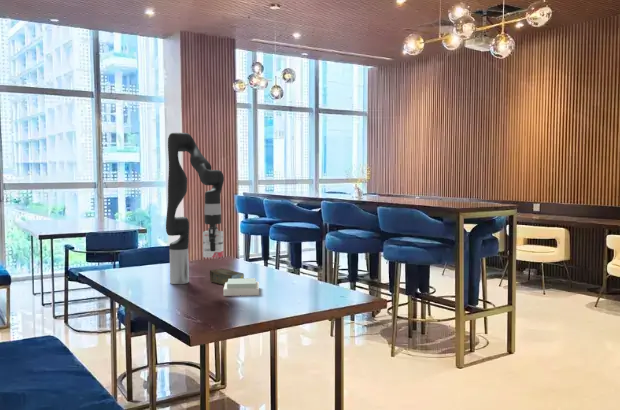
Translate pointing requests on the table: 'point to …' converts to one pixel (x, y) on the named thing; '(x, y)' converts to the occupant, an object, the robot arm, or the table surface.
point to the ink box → (218, 245)
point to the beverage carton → (224, 275)
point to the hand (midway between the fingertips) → (213, 250)
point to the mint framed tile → (241, 287)
